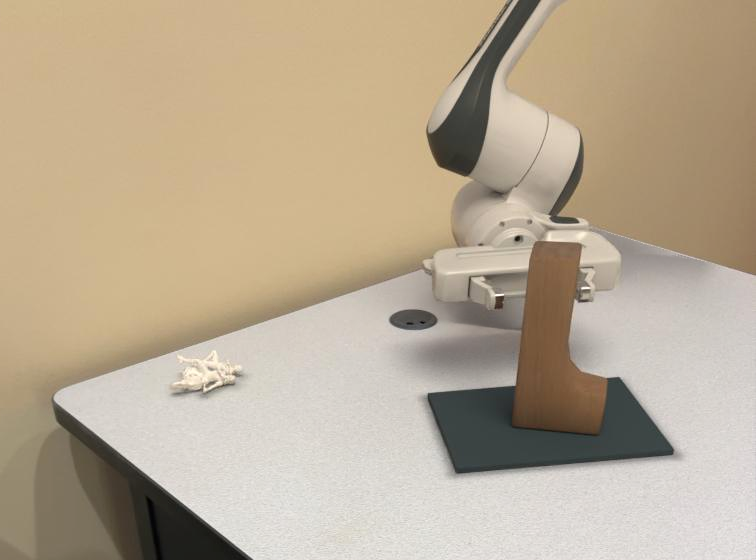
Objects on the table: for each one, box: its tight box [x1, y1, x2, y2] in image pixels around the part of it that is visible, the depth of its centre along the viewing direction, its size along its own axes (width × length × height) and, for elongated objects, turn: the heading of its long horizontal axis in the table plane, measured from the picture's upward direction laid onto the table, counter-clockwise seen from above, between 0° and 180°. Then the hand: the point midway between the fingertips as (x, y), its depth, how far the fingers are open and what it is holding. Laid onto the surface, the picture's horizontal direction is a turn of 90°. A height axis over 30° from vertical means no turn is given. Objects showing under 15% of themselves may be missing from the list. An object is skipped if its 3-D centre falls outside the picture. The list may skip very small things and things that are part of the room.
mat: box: [427, 376, 675, 474], centre depth 95 cm, size 22×16×1 cm
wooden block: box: [512, 241, 608, 435], centre depth 88 cm, size 9×4×18 cm, turn 73°
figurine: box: [170, 349, 244, 394], centre depth 105 cm, size 3×8×8 cm
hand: (542, 299), depth 92 cm, fingers open, 8 cm apart
